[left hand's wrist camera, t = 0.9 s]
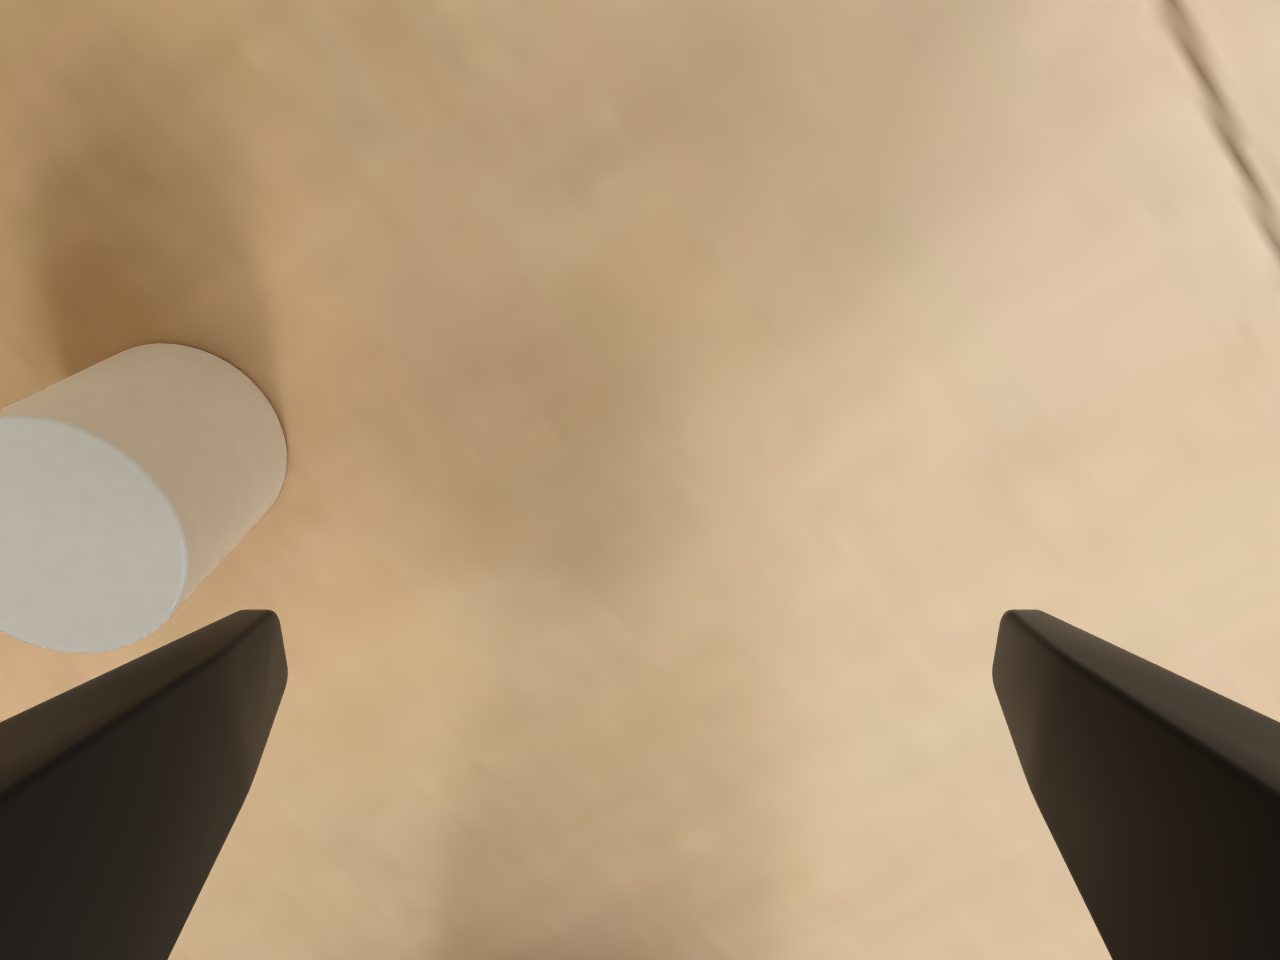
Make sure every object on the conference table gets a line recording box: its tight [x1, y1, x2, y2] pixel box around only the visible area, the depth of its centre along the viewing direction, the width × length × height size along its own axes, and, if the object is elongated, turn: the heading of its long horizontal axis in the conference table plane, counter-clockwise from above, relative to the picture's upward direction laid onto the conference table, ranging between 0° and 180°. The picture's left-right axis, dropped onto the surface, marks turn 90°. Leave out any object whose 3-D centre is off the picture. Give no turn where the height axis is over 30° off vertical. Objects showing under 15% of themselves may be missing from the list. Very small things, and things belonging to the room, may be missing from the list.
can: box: [0, 343, 287, 653], centre depth 17 cm, size 4×4×5 cm
